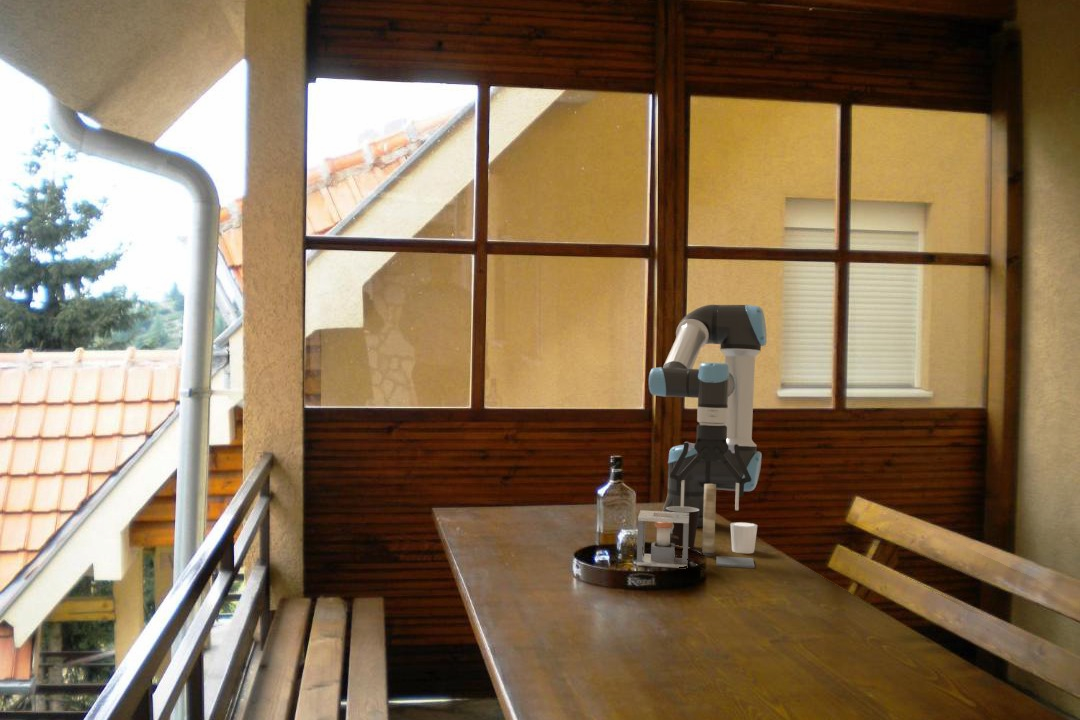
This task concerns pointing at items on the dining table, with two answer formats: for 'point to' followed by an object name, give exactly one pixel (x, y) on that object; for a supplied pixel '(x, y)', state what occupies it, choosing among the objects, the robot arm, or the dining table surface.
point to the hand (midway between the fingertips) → (709, 508)
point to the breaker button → (663, 533)
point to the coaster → (735, 562)
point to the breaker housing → (662, 554)
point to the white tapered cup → (743, 537)
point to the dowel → (709, 520)
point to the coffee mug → (677, 528)
